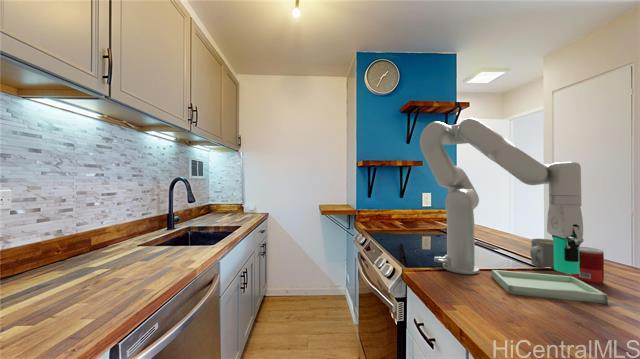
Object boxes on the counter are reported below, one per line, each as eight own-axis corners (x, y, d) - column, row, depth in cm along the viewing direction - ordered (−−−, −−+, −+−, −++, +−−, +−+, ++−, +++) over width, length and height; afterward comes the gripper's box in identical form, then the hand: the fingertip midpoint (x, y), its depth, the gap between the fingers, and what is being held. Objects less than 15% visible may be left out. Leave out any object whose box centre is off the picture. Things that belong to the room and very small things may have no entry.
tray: (509, 293, 80) (508, 285, 80) (491, 276, 95) (491, 269, 95) (607, 303, 74) (607, 295, 74) (572, 283, 88) (572, 276, 88)
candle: (548, 267, 85) (547, 231, 85) (565, 267, 86) (564, 230, 86) (567, 274, 79) (566, 234, 79) (585, 273, 80) (584, 234, 80)
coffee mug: (546, 261, 113) (546, 238, 113) (570, 269, 103) (570, 243, 103) (518, 262, 112) (517, 238, 112) (539, 270, 102) (539, 244, 102)
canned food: (610, 285, 87) (610, 252, 87) (582, 283, 89) (582, 251, 89) (591, 277, 94) (591, 246, 95) (565, 275, 96) (565, 245, 96)
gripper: (536, 199, 92) (537, 251, 92) (567, 202, 76) (568, 266, 75) (562, 199, 90) (563, 252, 90) (599, 203, 74) (601, 268, 73)
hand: (565, 258), depth 83 cm, fingers closed on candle, 4 cm apart
